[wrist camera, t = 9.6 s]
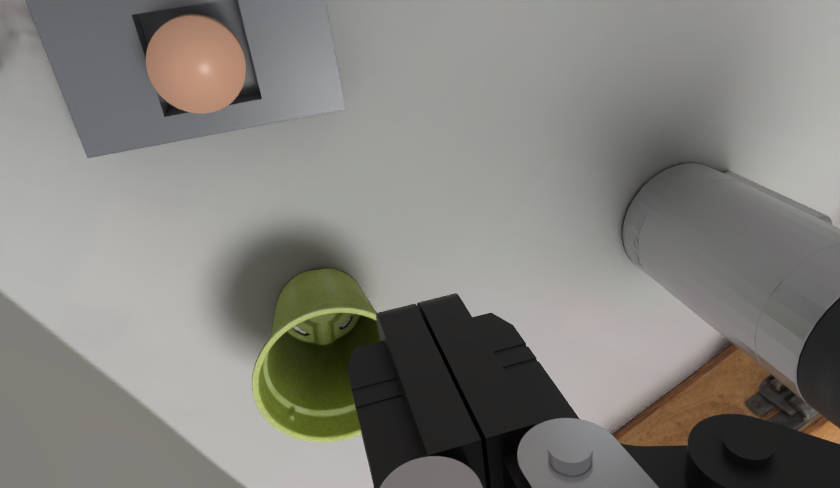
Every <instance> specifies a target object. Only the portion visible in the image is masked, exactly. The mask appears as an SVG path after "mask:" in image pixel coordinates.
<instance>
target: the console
mask: <svg viewBox="0 0 840 488" xmlns="http://www.w3.org/2000/svg"><path fill="white" fill-rule="evenodd" d="M26 2H27V5H28V8H29V10H30V13H31V15H32V18H33V20H34V23H35V25H36V28H37V30H38V33H39V36H40V38H41V41H42V43H43V46H44V48H45V51H46V53H47V56H48V58H49V61H50V64H51V66H52V69H53V71H54V74H55V76H56V79H57V81H58V84H59V87H60V89H61V92H62V94H63V97H64V99H65V102H66V104H67V107H68V109H69V112H70V115H71V117H72V120H73V122H74V125H75V127H76V130H77V132H78V135H79V137H80V140H81V143H82V145H83V148H84V150H85V153H86V155H87V158H92V157H97V156H102V155H107V154H113V153H118V152H123V151H128V150H134V149H139V148H144V147H149V146H155V145H160V144H165V143H170V142H176V141H181V140H186V139H191V138H197V137H202V136H207V135H212V134H217V133H223V132H228V131H233V130H238V129H244V128H249V127H254V126H259V125H265V124H270V123H275V122H280V121H286V120H291V119H296V118H301V117H307V116H312V115H317V114H322V113H328V112H333V111H338V110H343V109H345V104H344V99H343V93H342V88H341V82H340V77H339V72H338V66H337V61H336V55H335V50H334V45H333V39H332V34H331V28H330V23H329V17H328V12H327V7H326V1H325V0H26ZM184 14H202V15H206V16H210V17H212V18H214V19H217V20H218V21H220V22H222V23H223V24H225V25H226V26H227V27H228V28H229V29H230V30H231V31H232V32H233V33H234V34H235V35H236V37H237V38H238V40H239V42H240V43H241V46H242V48H243V51H244V54H245V60H246V75H245V81H244V84H243V87H242V89H241V91H240V93H239V94H238V96H237V97H236V98H235V99H234V101H233V102H232V103H230V104H229V105H228V106H226V107H224V108H223V109H220V110H218V111H215V112H211V113H204V114H201V113H191V112H187V111H183V110H181V109H178V108H176V107H175V106H173V105H171V104H170V103H168V102H167V101H166V100H165V99H163V98H162V97H161V96H160V94H159V93H158V92H157V91H156V89H155V88H154V87H153V85H152V83H151V81H150V78H149V76H148V72H147V68H146V52H147V48H148V45H149V42H150V40H151V38H152V37H153V35H154V34H155V32H156V31H157V30H158V29H159V28H160V27H161V26H162V25H164V24H165V23H166V22H167V21H169V20H171V19H172V18H174V17H177V16H180V15H184Z"/></svg>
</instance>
